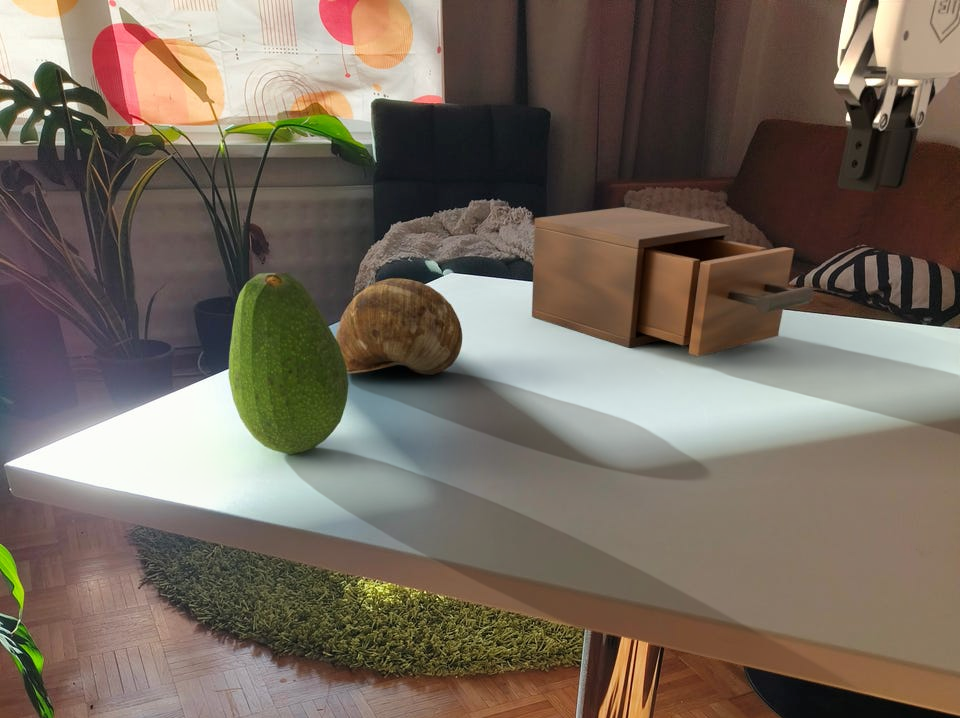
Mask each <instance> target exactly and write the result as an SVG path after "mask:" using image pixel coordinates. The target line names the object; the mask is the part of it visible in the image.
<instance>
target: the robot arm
mask: <svg viewBox="0 0 960 718" xmlns="http://www.w3.org/2000/svg"><path fill="white" fill-rule="evenodd" d="M837 68H838V72H837V74H836V76H835V78H834V81H833V89H834V90H835V91H836V93H837V94H838V95H839V96H840V98H842V100H843V101H844V105H845V107H846V112H847V113H846V116H845V127H846V129H848V131H847V136H846V140H845V147H844V151H843V156H842V161H841V166H840V170H839V175H838V181H837V186H838V188H839V189H842V190H850V191H856V192H857V191H858V192H865V193H866V192H867V193H873V192H876V191H878V190H879V189H880V187H881V188H889V189H901V188H904V186H905V185H906V182H907V178H908V173H909V170H910V166H911V161H912V157H913V153H914V149H915V144H916V141H917V136H918V133H919V128H921V127H922V126H923V124H924V122H925V120H926V115H927V111H928V107H929V105H930V104H931V103H932V101H933V99H934V98H935V96H937V95H938V94H939V93H940V92H941V91H942V90H943V89H945V88H946V87H947V86H948V84H949V82H950V78H952V77H955V76H956V75H959V74H960V0H847V1H846V5H845V10H844V15H843V19H842V23H841V30H840V36H839V42H838V49H837ZM904 88H907V89H906V90H905V92H904ZM876 89H880V91H879V93H878V96H877V92H876Z"/></svg>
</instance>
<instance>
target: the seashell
mask: <svg viewBox="0 0 960 718" xmlns="http://www.w3.org/2000/svg"><path fill="white" fill-rule="evenodd" d="M335 339H336V340H337V342H338V344H339V346H340V349H341V352H342V355H343V357H344V360H345V363H346V368H347V374H359V373H366V372H371V371H377V370H380V369H385V368H389V367H393V366H394V367H395V366H397V365H402V366H406V367H407V368H408V369H410V370H411V371H413V372H415V373H417V374H420V375H425V376H432V375H436V374H439V373H441V372H443V371H446V370H447V369H449V368H450V367H451V366H452V365H453V364H454V363H455V362H456V360H457V359H458V357H459V355H460V353H461V349H462V345H463V329H462V325H461V322H460V319H459V316H458V315H457V312H456V311H455V309H454V307H453V305H452V304H451V302H449V301H448V300H447V298H446V297H444V296H443V295H442V294H441V293H440V292H438V291H437V290H435V289H434V288H433V287H431V286H430V285H427V284H425V283H423V282H420V281H416V280H412V279H406V278H392V277H391V278H386V279H383V280H379V281H376V282H374V283H372V284H370V285H368V286H366V288H364V289H363V290H361V291H360V292H359V293H358V294H357V295H355V297H354V298H353V299H352V300H351V302H350V303H348V305H347V307H346V308H345V310H344V312H343V313H342V316H341V318H340V320H339V323H338V325H337V329H336V335H335Z"/></svg>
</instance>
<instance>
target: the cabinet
mask: <svg viewBox="0 0 960 718" xmlns="http://www.w3.org/2000/svg"><path fill="white" fill-rule="evenodd" d="M731 229H732V225H730V224H725V223H720V222H719V223H718V222H713V221H707V220H701V219H696V218H690V217H684V216H679V215H678V216H677V215H672V214H666V213H660V212H654V211H649V210H643V209H637V208H633V207H632V208H631V207H627V206H623V207H613V208H607V209H597V210H591V211H589V210H588V211H581V212H575V213H573V212H572V213H565V214H559V215H557V214H556V215H550V216H549V215H548V216H541V217H534V234H533V235H534V236H533V263H532V264H533V265H532V266H533V267H532V269H533V271H532V298H531V306H532V307H531V317H532V318H535V319H537V320H541V321H545V322H548V323H551V324H553V325H557V326H560V327H563V328H566V329H569V330H573V331H575V332H578V333H581V334H585V335H588V336H591V337H594V338H597V339H601V340H604V341H607V342H610V343H613V344H617V345H620V346H623V347H625V348H633V347H637V346H641V345H646V344H650V343H653V342H658V341H659V342H660V341H664V340H663V339H660V338H656V337H653V336H650V335H646V334H643V333H640V332H636V326H637V315H638V305H639V295H640V284H641V274H642V264H643V253H644V248H647V247H653V246H659V245H665V244H672V243H678V242H684V241H691V240H697V239H703V238H709V237H711V238H716V239H721V240H727V241H730V235H731Z"/></svg>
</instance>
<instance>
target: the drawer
mask: <svg viewBox="0 0 960 718" xmlns="http://www.w3.org/2000/svg"><path fill="white" fill-rule="evenodd" d="M794 253H795V248H791V247H786V246H783V247H776V248H771V249H767V248H766V247H764V246H757V245H753V244H749V243H748V244H747V243H743V242H738V241H733V240H732V241H731V240H729V241H727V240H721V239H716V238H711V237H709V238H703V239H697V240H691V241H684V242H678V243H672V244H665V245H659V246H653V247H647V248H644V253H643V264H642V274H641V284H640V295H639V305H638V315H637V326H636V332H640V333H643V334H646V335H650V336H653V337H656V338H660V339H663V340H662V341H666V342H669V343H673V344H677V345H680V346H687V345H689V346H688V347H689V348H688V354H689V355H693V356H695V357H701V356H705V355H709V354H713V353H716V352H721V351H725V350H729V349H732V348H736V347H741V346H744V345H748V344H752V343H756V342H759V341H764V340H768V339H773V338H775V337H778V336H779V334H780V327H781V323H782V317H783V311H784V310H785V309H789V308H793V307H798V306H801V305H806V304H809V303H811V302H812V301H813V299H814V290H813V289H812V288H811V287H810V286H803V287H797V288H790V287H788V284H789V279H790V273H791V269H792V263H793V258H794ZM698 270H699V278H698V285H697V293H696V301H695V308H694V316H693V323H691V322H692V314H693V307H694V299H695V291H696V284H697V276H698Z"/></svg>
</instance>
